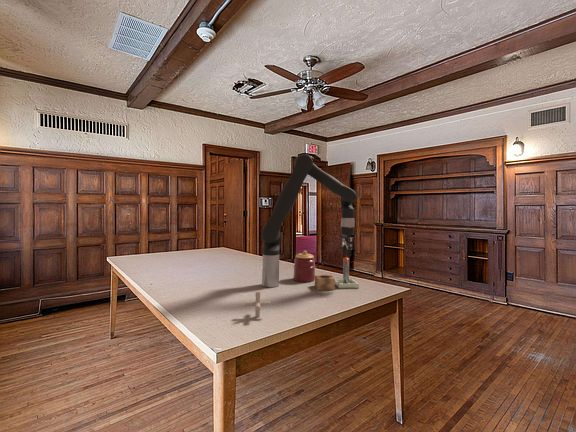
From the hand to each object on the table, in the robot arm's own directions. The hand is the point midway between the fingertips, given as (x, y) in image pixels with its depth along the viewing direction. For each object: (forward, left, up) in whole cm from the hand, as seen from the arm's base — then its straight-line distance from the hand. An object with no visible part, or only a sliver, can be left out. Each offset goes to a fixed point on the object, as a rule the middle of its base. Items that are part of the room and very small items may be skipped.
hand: (346, 255), depth 170 cm
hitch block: (-13, -3, -17) cm, 22 cm away
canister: (-21, +15, -18) cm, 31 cm away
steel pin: (0, 0, -17) cm, 17 cm away
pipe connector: (-50, -44, -18) cm, 69 cm away
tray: (0, 0, -17) cm, 17 cm away
